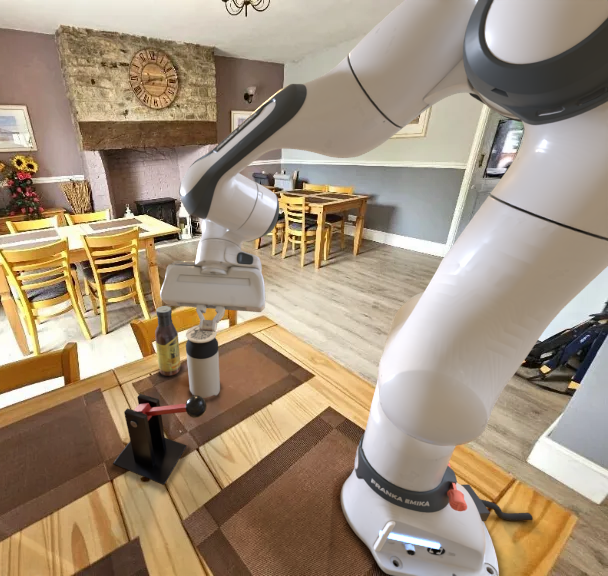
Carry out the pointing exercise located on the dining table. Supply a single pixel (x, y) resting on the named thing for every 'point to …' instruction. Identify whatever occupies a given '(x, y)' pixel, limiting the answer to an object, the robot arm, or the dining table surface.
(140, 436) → the bracket
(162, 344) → the sauce bottle
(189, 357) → the travel mug
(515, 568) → the dining table surface
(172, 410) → the lever
